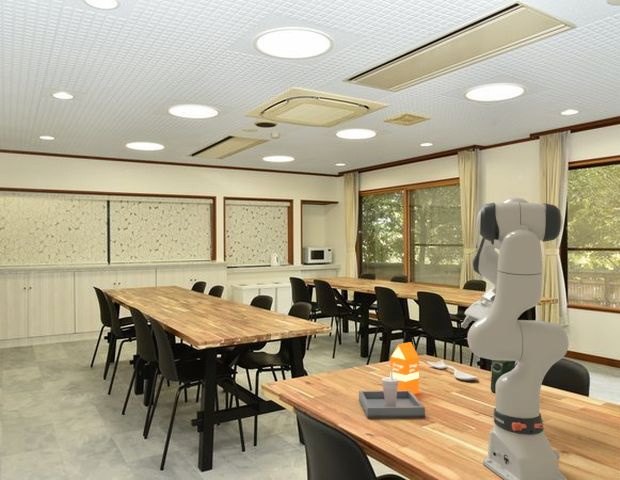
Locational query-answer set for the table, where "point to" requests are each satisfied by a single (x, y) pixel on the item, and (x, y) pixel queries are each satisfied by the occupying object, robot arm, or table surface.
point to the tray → (404, 407)
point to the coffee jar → (500, 370)
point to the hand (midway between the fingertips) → (467, 329)
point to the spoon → (457, 373)
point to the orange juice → (406, 367)
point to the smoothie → (390, 389)
